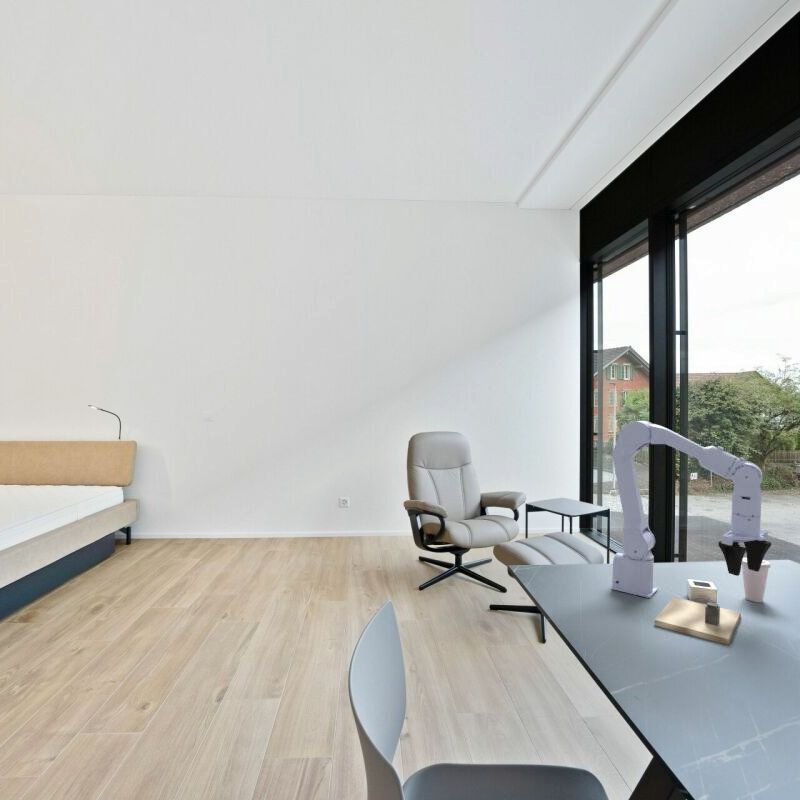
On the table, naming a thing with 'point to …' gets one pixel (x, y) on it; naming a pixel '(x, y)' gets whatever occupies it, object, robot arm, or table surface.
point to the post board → (699, 620)
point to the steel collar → (701, 591)
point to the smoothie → (755, 581)
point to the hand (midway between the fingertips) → (743, 572)
